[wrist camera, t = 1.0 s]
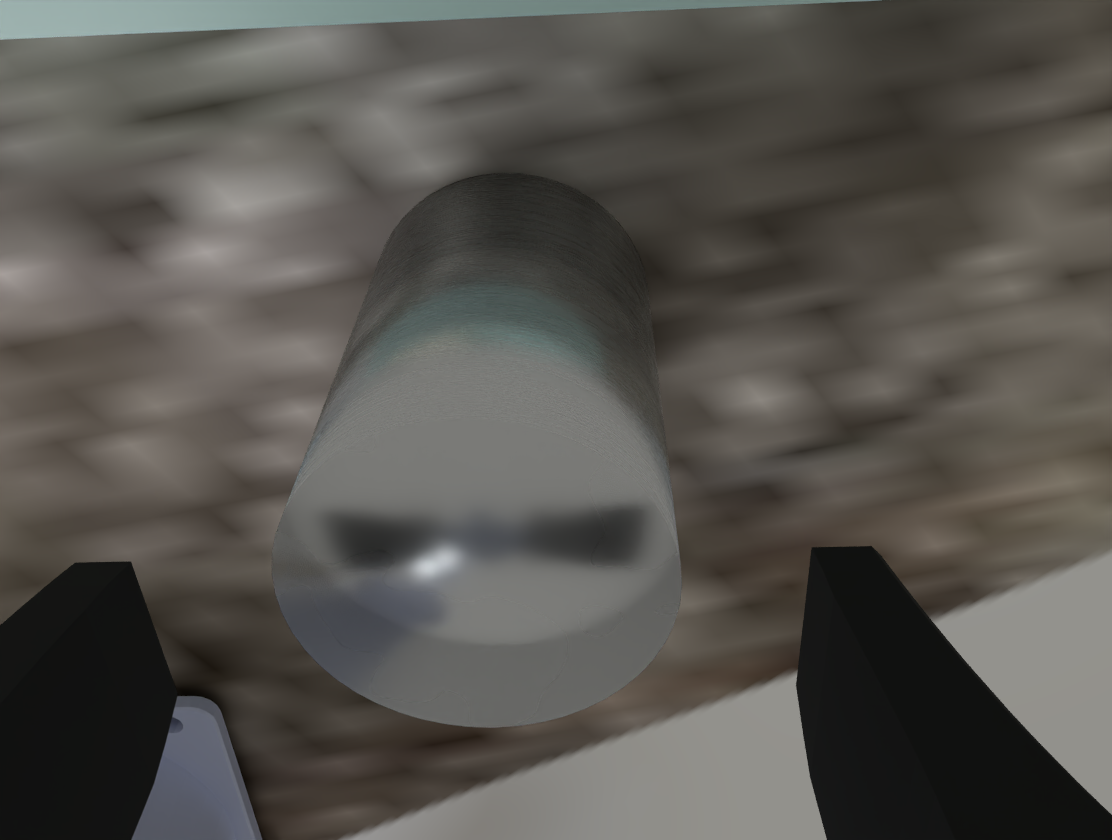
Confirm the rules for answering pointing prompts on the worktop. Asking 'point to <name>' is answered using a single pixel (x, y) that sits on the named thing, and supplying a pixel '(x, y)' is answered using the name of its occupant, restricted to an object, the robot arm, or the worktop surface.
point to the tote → (297, 13)
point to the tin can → (489, 468)
